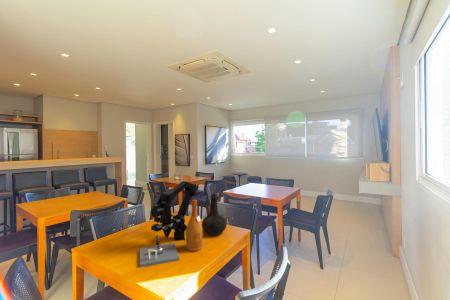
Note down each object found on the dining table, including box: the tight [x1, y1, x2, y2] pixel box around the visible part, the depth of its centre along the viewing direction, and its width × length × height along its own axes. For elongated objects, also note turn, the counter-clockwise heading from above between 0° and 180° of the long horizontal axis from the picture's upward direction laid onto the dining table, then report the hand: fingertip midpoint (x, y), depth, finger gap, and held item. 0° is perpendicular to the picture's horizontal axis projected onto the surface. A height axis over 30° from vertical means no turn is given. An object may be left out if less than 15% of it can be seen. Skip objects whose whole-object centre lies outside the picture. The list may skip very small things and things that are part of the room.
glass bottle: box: [201, 193, 228, 236], centre depth 161 cm, size 18×18×28 cm
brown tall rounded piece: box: [185, 199, 203, 252], centre depth 136 cm, size 10×10×30 cm
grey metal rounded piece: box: [147, 235, 163, 254], centre depth 130 cm, size 9×11×6 cm
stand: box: [139, 242, 180, 268], centre depth 128 cm, size 20×20×7 cm
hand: (166, 237), depth 140 cm, fingers closed
